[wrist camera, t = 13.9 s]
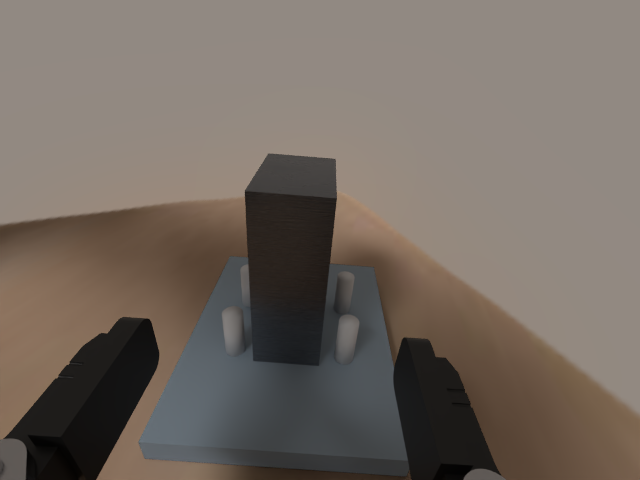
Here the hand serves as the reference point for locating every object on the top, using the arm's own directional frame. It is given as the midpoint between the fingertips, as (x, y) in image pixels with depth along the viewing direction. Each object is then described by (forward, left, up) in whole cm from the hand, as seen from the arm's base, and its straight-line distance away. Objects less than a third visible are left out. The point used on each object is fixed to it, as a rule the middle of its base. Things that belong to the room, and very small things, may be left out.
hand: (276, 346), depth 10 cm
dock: (-2, +9, -10) cm, 13 cm away
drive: (-2, +9, -8) cm, 12 cm away
